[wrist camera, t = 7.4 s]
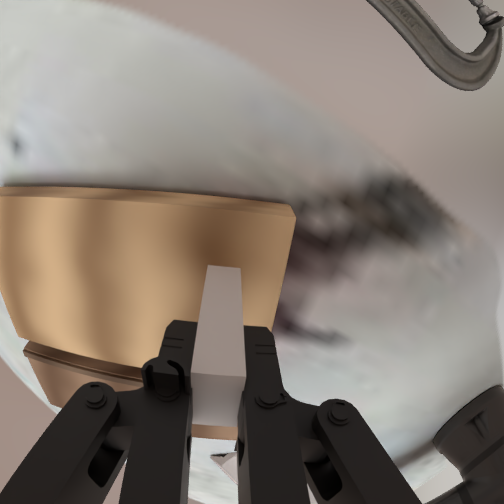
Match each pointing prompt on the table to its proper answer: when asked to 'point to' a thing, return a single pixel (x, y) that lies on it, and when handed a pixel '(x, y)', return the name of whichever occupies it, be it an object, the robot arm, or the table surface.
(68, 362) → the walnut floor board
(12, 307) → the oak plank
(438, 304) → the table surface
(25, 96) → the table surface
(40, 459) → the robot arm
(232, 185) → the table surface
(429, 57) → the c clamp
